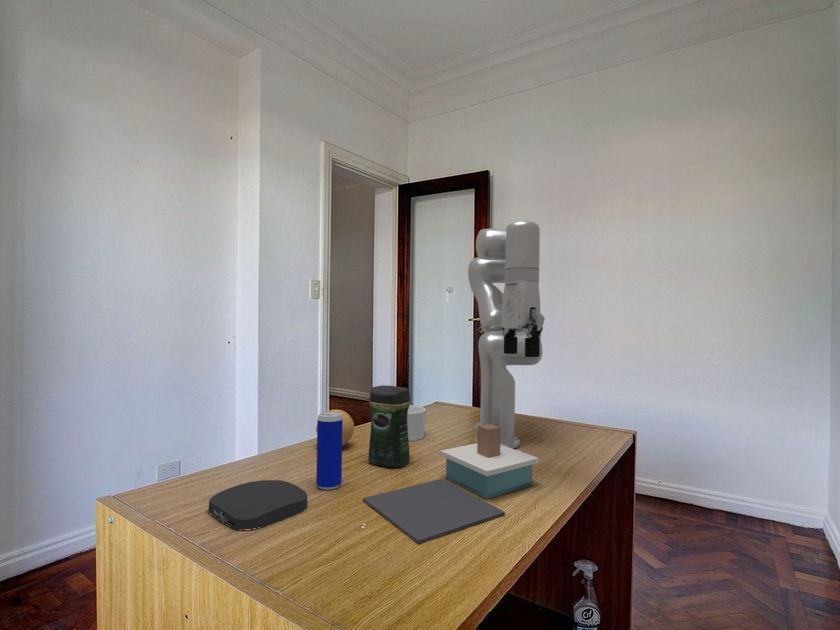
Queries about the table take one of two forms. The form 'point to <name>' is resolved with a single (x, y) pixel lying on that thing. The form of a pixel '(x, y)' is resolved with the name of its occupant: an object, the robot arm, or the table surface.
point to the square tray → (489, 479)
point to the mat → (432, 509)
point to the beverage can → (329, 450)
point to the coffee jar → (389, 426)
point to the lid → (489, 453)
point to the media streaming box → (257, 503)
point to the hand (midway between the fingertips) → (520, 355)
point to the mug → (416, 422)
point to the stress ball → (345, 426)
